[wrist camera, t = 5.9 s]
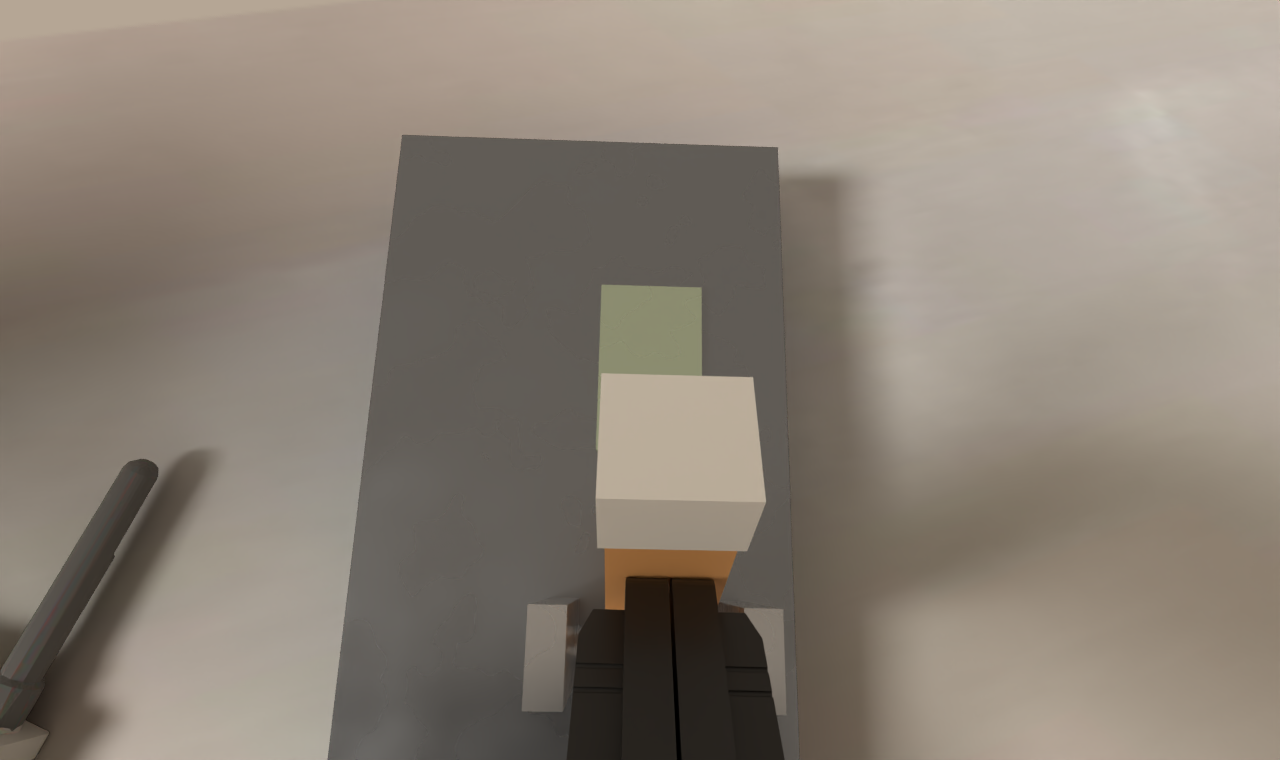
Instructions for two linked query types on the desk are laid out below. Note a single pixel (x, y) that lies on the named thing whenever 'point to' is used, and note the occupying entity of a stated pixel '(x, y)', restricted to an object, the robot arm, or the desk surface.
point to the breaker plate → (543, 424)
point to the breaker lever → (676, 477)
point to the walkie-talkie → (65, 609)
